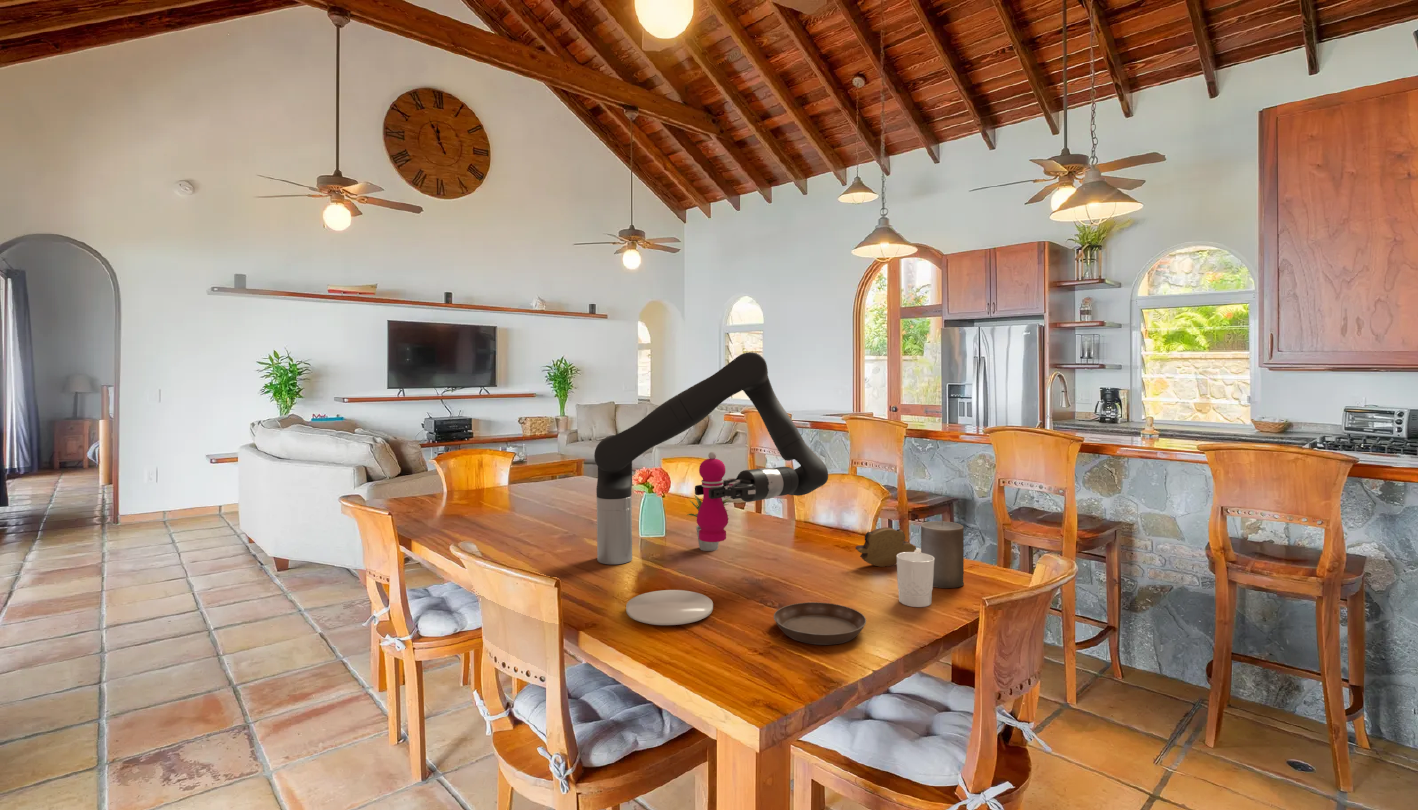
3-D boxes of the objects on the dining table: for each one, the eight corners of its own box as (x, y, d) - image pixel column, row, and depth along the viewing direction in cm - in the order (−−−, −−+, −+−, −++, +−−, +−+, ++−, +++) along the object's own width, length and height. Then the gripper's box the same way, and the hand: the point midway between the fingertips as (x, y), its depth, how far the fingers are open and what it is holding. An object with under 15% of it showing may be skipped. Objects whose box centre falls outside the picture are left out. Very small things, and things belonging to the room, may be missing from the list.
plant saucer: (770, 614, 139) (771, 600, 139) (856, 615, 138) (856, 601, 138) (776, 650, 121) (776, 634, 121) (875, 651, 121) (875, 634, 121)
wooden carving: (906, 560, 178) (907, 522, 177) (917, 564, 173) (917, 526, 173) (852, 566, 172) (852, 527, 172) (861, 571, 168) (861, 531, 168)
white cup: (914, 611, 140) (915, 563, 140) (888, 599, 147) (888, 554, 147) (942, 604, 144) (942, 558, 143) (915, 593, 151) (915, 550, 150)
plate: (612, 607, 143) (612, 599, 143) (685, 592, 152) (685, 584, 152) (650, 636, 127) (650, 626, 127) (729, 617, 137) (729, 608, 137)
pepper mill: (691, 541, 151) (691, 453, 150) (703, 533, 158) (703, 449, 157) (721, 544, 148) (721, 454, 147) (732, 536, 155) (732, 450, 154)
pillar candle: (970, 581, 159) (970, 519, 158) (953, 591, 152) (953, 526, 151) (931, 574, 166) (931, 513, 165) (913, 583, 159) (913, 520, 158)
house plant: (735, 556, 181) (735, 497, 180) (684, 556, 182) (684, 497, 181) (734, 543, 196) (734, 487, 195) (687, 543, 196) (686, 487, 195)
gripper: (740, 465, 166) (684, 471, 156) (780, 472, 155) (721, 480, 145) (740, 495, 167) (684, 503, 157) (780, 504, 155) (722, 514, 145)
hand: (702, 492), depth 151 cm, fingers closed on pepper mill, 4 cm apart
